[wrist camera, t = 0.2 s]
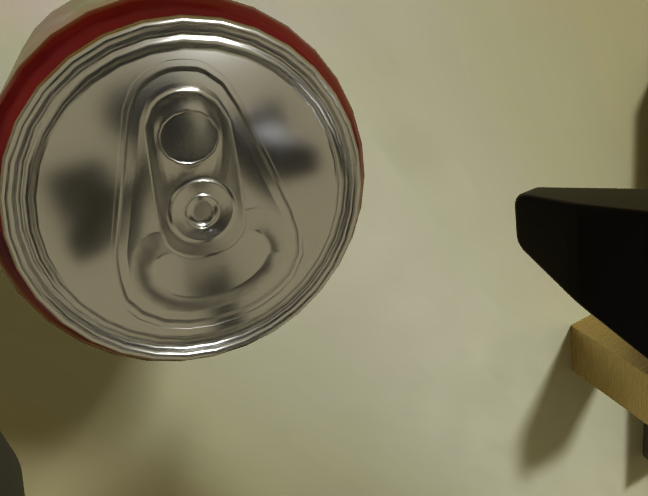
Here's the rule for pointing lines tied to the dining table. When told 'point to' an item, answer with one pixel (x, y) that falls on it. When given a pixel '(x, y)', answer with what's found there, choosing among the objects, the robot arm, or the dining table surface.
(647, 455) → the grey peg hole board
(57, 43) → the soda can
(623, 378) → the wooden peg
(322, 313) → the dining table surface
